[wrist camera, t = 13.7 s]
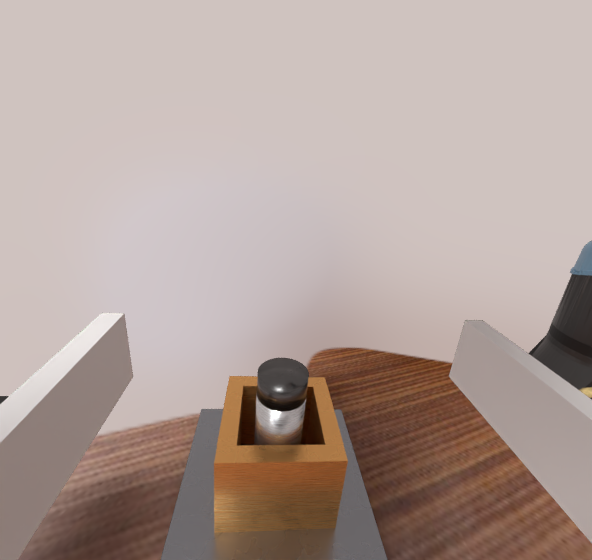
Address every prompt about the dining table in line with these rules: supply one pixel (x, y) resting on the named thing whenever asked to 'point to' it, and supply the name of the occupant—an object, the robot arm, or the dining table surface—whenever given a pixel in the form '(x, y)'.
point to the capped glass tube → (280, 402)
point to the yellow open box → (272, 488)
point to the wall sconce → (587, 391)
